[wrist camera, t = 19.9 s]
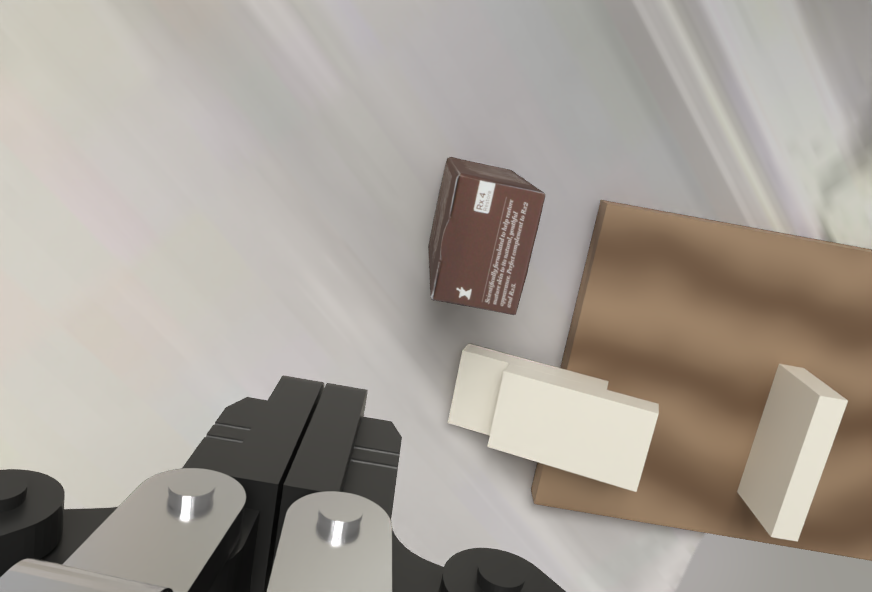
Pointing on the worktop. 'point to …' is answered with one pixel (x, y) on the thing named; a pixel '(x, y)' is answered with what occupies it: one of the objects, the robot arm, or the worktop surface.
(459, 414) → the domino
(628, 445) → the domino
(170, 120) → the worktop surface
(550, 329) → the worktop surface
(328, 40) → the worktop surface
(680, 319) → the cutting board
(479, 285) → the box
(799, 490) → the domino
